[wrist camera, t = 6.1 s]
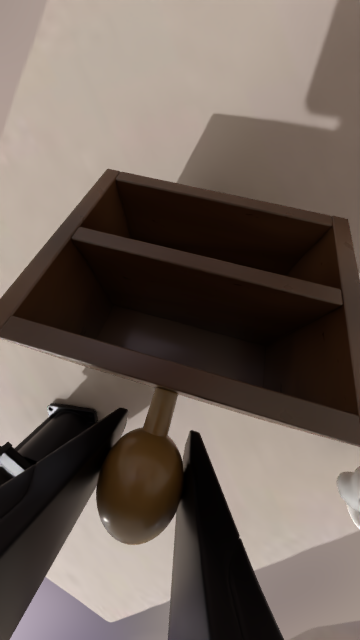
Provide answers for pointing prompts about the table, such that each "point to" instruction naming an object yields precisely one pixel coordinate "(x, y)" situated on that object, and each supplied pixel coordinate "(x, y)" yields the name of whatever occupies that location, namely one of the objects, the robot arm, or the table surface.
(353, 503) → the toy rhinoceros
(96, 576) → the table surface
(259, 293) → the shelf
